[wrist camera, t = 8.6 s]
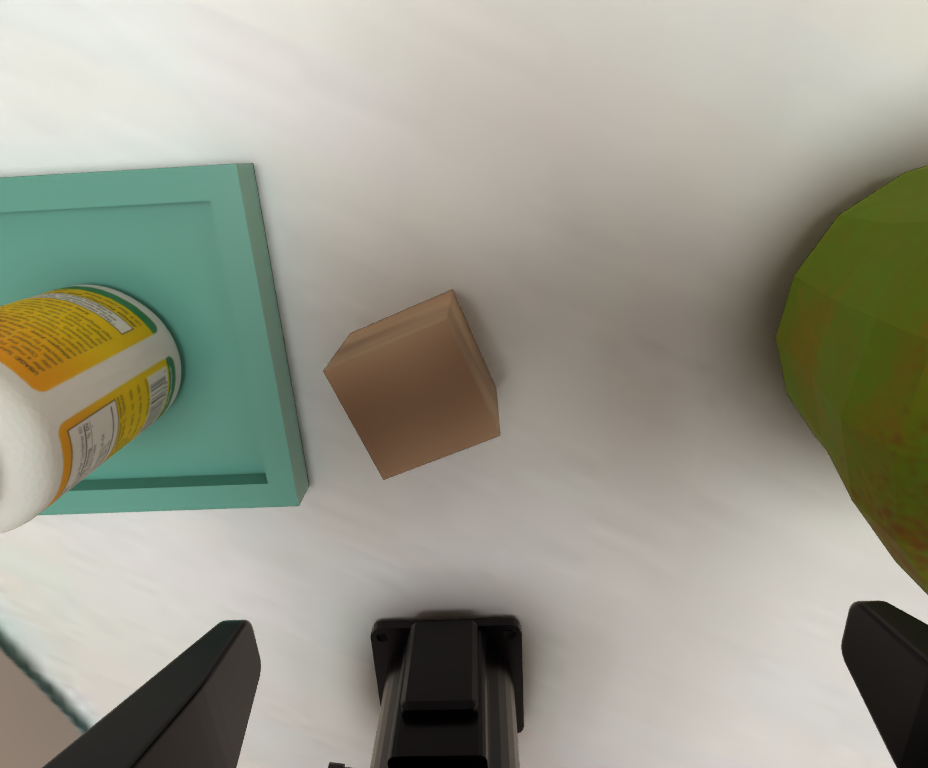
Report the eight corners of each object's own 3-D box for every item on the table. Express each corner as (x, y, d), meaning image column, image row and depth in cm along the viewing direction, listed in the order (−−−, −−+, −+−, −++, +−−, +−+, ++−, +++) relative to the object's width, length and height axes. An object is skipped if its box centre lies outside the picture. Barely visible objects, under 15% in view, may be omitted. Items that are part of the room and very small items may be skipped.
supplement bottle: (211, 404, 21) (15, 586, 12) (82, 439, 22) (-195, 636, 13) (141, 260, 19) (-152, 351, 10) (2, 303, 20) (-387, 425, 11)
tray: (309, 486, 23) (298, 505, 22) (16, 497, 23) (-11, 516, 22) (252, 163, 19) (236, 163, 17) (-105, 184, 19) (-147, 186, 18)
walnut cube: (496, 387, 21) (500, 435, 18) (399, 425, 22) (383, 480, 18) (452, 289, 20) (446, 319, 16) (351, 332, 21) (323, 371, 17)
